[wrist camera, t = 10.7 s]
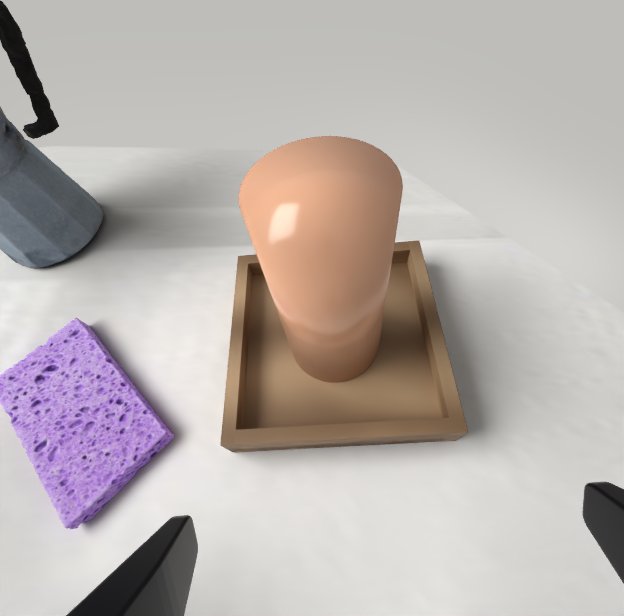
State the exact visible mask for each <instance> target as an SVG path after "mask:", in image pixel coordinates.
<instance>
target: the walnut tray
mask: <svg viewBox="0 0 624 616" xmlns="http://www.w3.org/2000/svg"><path fill="white" fill-rule="evenodd" d="M467 432H468V430H467V426H466V422H465V418H464V415H463V411H462V407H461V403H460V399H459V395H458V391H457V387H456V383H455V379H454V375H453V371H452V367H451V364H450V360H449V356H448V352H447V348H446V344H445V340H444V336H443V332H442V328H441V324H440V320H439V316H438V313H437V309H436V305H435V301H434V297H433V293H432V289H431V285H430V281H429V277H428V273H427V269H426V265H425V261H424V258H423V254H422V250H421V246H420V242H419V241H408V242H397V243H394V250H393V256H392V263H391V270H390V276H389V283H388V289H387V296H386V303H385V309H384V316H383V322H382V329H381V336H380V342H379V349H378V353H377V356H376V358H375V360H374V362H373V363H372V365H371V366H370V367H369V368H368V369H367V370H366V371H365V372H364V373H362V374H361V375H360V376H358V377H356V378H354V379H351V380H348V381H344V382H336V383H334V382H325V381H321V380H318V379H315V378H313V377H311V376H310V375H308V374H307V373H306V372H304V371H303V370H302V369H301V368H300V367H299V365H298V364H297V362H296V360H295V358H294V356H293V353H292V351H291V348H290V345H289V342H288V339H287V337H286V334H285V331H284V328H283V326H282V323H281V320H280V317H279V315H278V312H277V309H276V306H275V304H274V301H273V298H272V295H271V293H270V290H269V287H268V284H267V282H266V279H265V276H264V273H263V271H262V268H261V265H260V262H259V260H258V257H257V255H246V256H238V263H237V274H236V285H235V295H234V306H233V317H232V328H231V338H230V349H229V360H228V370H227V381H226V392H225V402H224V413H223V424H222V435H221V446H223V447H224V448H226V449H228V450H230V451H232V452H248V451H267V450H286V449H305V448H324V447H343V446H361V445H380V444H399V443H418V442H437V441H456V440H457V439H459V438H460V437H461V436H463V435H464V434H466V433H467Z"/></svg>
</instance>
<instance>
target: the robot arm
mask: <svg viewBox="0 0 624 616" xmlns="http://www.w3.org/2000/svg"><path fill="white" fill-rule="evenodd" d="M583 518H584V521H585V523H586V525H587V527H588V529H589V530H590V532H591V533H592V535H593V537H594V538H595V540H596V541H597V543H598V544H599V546H600V547H601V549H602V551H603V552H604V554H605V555H606V557H607V558H608V560H609V561H610V563H611V565H612V566H613V568H614V569H615V571H616V572H617V574H618V576H619V577H620V579H621V580H622V582H623V583H624V489H622V488H620V487H618V486H615V485H613V484H611V483H609V482H592V483H588V484H587V485H586V486H585V489H584V501H583ZM197 553H198V543H197V538H196V534H195V529H194V525H193V520H192V518H191V517H190V516H188V515H184V516H175V517H172V518H171V519H169V520H168V521H167V522H166V523H165V524H164V525H163V526H162V527H161V528H160V529H159V530H158V531H156V532H155V533H154V534H153V535H152V536H151V537H150V538H149V539H148V540H147V541H146V542H145V543H144V544H142V545H141V546H140V547H139V548H138V549H137V550H136V551H135V552H134V553H133V554H132V555H131V556H130V557H129V558H127V559H126V560H125V561H124V562H123V563H122V564H121V565H120V566H119V567H118V568H117V569H116V570H115V571H114V572H112V573H111V574H110V575H109V576H108V577H107V578H106V579H105V580H104V581H103V582H102V583H101V584H100V585H98V586H97V587H96V588H95V589H94V590H93V591H92V592H91V593H90V594H89V595H88V596H87V597H86V598H85V599H83V600H82V601H81V602H80V603H79V604H78V605H77V606H76V607H75V608H74V609H73V610H72V611H71V612H70V613H68V614H67V615H66V616H184V613H185V608H186V604H187V599H188V595H189V590H190V586H191V581H192V577H193V572H194V568H195V563H196V559H197Z"/></svg>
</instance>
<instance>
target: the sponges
mask: <svg viewBox="0 0 624 616" xmlns="http://www.w3.org/2000/svg"><path fill="white" fill-rule="evenodd" d="M0 404H1V405H2V406H3V407H4V410H5V412H6V413H8V414H9V415H10V417H11V418H12V420H11V423H12V426H13V427H14V429H15V432H16V435H17V436H18V438H20V439H21V441H22V446H23V447H24V448H25V449H26V453H27V455H28V457H29V459H30V461H31V463H32V464H33V467H34V469H35V471H36V473H37V474H38V475H39V478H40V480H41V483H42V484H43V486H44V488H45V490H46V491H47V493H48V495H49V497H50V499H51V501H52V504H53V506H54V507H55V508H56V510H57V512H58V515H59V518H60V519H61V521H62V523H63V524H64V526H65V528H70V529H74V528H78V526H79V525H80V524H81V523H82V522H87V521H90V520H91V519H92V518H93V517H94V516H95V515H96V514H97V513H98V512H99V511H100V510H101V509H102V508H103V506H104V505H105V504H106V503H107V502H109V501H110V500H111V499H112V498H113V497H114V496H115V495H116V494H117V493H118V492H119V491H120V490H121V489H122V488H123V487H124V486H125V485H126V484H127V483H128V482H129V481H130V480H131V479H132V478H133V477H134V476H135V474H136V472H137V470H138V469H139V468H141V467H143V466H144V465H146V464H147V463H148V462H149V461H150V460H151V459H152V458H153V457H154V456H155V455H156V454H157V453H158V452H159V451H160V450H161V449H163V448H164V447H165V446H166V445H167V444H168V443H169V442H170V441H171V440H172V439H173V438H174V435H173V434H172V433H171V431H170V430H169V429H168V428H167V427H166V426H165V424H164V422H163V421H162V420H161V419H160V417H159V416H158V415H156V413H155V411H154V409H153V408H152V407H151V406H150V405H149V404H148V403H147V401H146V399H145V398H144V397H143V396H142V395H141V393H140V392H139V391H138V390H137V388H136V387H135V385H134V384H133V383H132V382H131V380H130V379H129V378H128V377H127V375H126V374H125V373H124V371H123V370H122V369H121V367H120V366H119V365H118V364H117V362H116V361H115V360H114V359H113V358H112V356H111V355H110V353H109V351H108V350H107V349H106V347H105V346H104V345H103V344H102V342H101V341H100V339H99V338H98V337H97V335H96V334H95V333H94V332H93V330H92V329H91V328H90V326H88V325H87V324H85V323H84V322H82V321H80V320H79V319H78V318H75V319H74V320H72V321H71V322H69V323H68V324H67V325H66V326H64V328H62V329H61V330H59V331H58V332H57V333H55V334H54V335H53V336H51V337H50V338H49V339H48V342H47V343H46V344H45V345H44V346H38V347H37V348H36V349H35V350H34V351H33V352H31V353H29V354H28V355H27V356H26V358H25V359H24V360H21V361H19V362H18V364H15V365H14V366H13V368H9V369H7V370H6V371H5V372H4V373H2V374H1V375H0Z"/></svg>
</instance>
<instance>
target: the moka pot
mask: <svg viewBox="0 0 624 616" xmlns="http://www.w3.org/2000/svg"><path fill="white" fill-rule="evenodd" d="M0 40H1V43H2V47H3V48H4V50H5V51H6V52H7V54H8V57H9V59H10V62H11V64H12V66H13V67H14V68H15V72H16V75H17V77H18V78H19V79H20V81H21V84H22V86H23V88H24V89H25V91H26V93H27V94H28V95H30V99H31V102H32V107H33V110H34V112H35V114H36V116H37V117H38V119H37V121H36V122H35V123H32V124H28V125H25V126H24V129H23V131H24V132H25V133H26V134H27V136H28V137H31V138H33V139H34V138H39V137H41V136H42V135H46V134H48V133H51V132H53V131H54V130H55V129H56V128H57V127H59V125H58V122H57V120H56V118H55V116H54V113H53V111H52V110H51V108H50V103H49V100H48V98H47V97H46V95H45V94H44V90H43V86H42V83H41V81H40V80H39V78H38V76H37V73H36V71H35V68H34V65H33V63H32V60H31V57H30V54H29V52H28V49H27V47H26V46H25V44H26V43H25V41H24V39H23V37H22V32H21V30H20V28H19V26H18V25H17V23H16V22H15V20H14V18H13V17H12V15H11V14H10V12H9V10H8V8H7V7H6V6H5V5H4V4H3V2H2V1H0ZM103 217H104V213H103V211H102V209H101V207H100V206H99V204H98V203H97V202H96V200H95V199H94V198H93V197H92V196H91V195H90V194H89V193H88V192H86V191H85V190H84V189H83V188H82V187H80V186H79V185H78V184H77V183H76V182H75V181H74V180H72V179H71V178H70V177H69V176H68V175H66V174H65V173H64V172H63V171H62V170H61V169H60V168H59V167H58V166H57V165H55V164H54V163H53V162H52V161H51V160H50V159H48V158H47V157H46V156H45V155H44V154H43V153H42V152H41V151H40V150H38V149H37V148H36V147H35V146H34V145H33V144H32V143H30V142H29V141H28V140H25V139H24V137H23V136H22V135H21V133H20V132H19V131H18V130H17V129H16V127H15V126H14V125H13V124H12V123H11V122H10V121H9V120H8V119H7V118H6V116H5V115H4V113H3V111H2V109H1V107H0V249H1V250H2V251H3V252H4V253H5V254H7V255H8V256H9V257H10V258H11V259H12V260H13V261H15V262H16V263H19V264H21V265H24V266H27V267H31V268H40V267H47V266H49V265H52V264H55V263H57V262H61V261H63V260H66V259H68V258H69V257H71V256H73V255H74V254H76V253H77V252H78V251H80V250H81V249H82V248H83V247H84V246H86V245H87V244H88V243H89V242H90V240H91V239H92V238H93V237H94V235H95V234H96V233H97V231H98V229H99V226H100V225H101V223H102V219H103Z"/></svg>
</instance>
